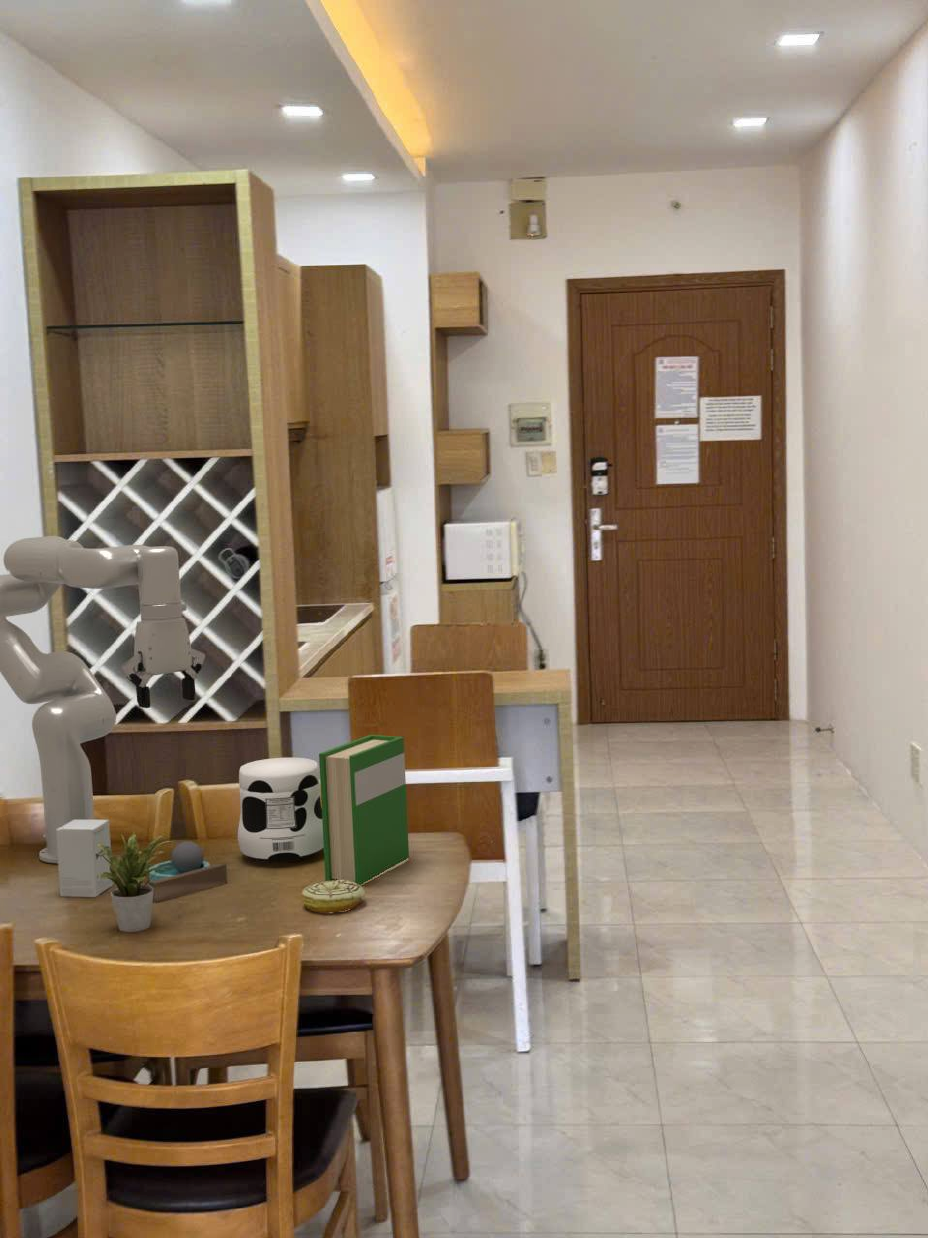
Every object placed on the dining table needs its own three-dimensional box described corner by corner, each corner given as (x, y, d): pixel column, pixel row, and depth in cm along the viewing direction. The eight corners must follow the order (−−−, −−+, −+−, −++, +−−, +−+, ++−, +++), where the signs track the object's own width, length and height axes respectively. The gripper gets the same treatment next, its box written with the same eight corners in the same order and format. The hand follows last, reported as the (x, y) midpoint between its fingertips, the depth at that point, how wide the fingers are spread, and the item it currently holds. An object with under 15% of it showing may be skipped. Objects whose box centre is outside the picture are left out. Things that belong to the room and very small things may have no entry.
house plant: (195, 930, 241) (189, 834, 239) (115, 948, 234) (108, 849, 232) (164, 909, 253) (157, 817, 251) (86, 925, 245) (79, 831, 244)
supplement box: (97, 898, 261) (92, 829, 259) (59, 897, 262) (54, 828, 261) (114, 885, 268) (110, 818, 267) (77, 884, 270) (73, 818, 268)
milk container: (290, 839, 295) (285, 752, 293) (346, 853, 283) (341, 763, 281) (220, 858, 283) (215, 768, 281) (276, 874, 271) (271, 780, 269)
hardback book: (360, 887, 261) (353, 756, 258) (325, 882, 265) (318, 753, 262) (409, 860, 277) (403, 737, 274) (376, 856, 280) (370, 734, 277)
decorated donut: (377, 904, 252) (376, 883, 251) (330, 920, 244) (329, 898, 244) (337, 893, 259) (336, 872, 258) (290, 908, 251) (289, 887, 251)
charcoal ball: (159, 862, 270) (174, 833, 272) (182, 875, 274) (197, 846, 276) (176, 869, 266) (192, 839, 268) (200, 882, 270) (215, 852, 271)
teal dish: (138, 881, 270) (137, 869, 270) (189, 867, 278) (188, 855, 277) (170, 892, 262) (169, 880, 262) (221, 878, 270) (220, 866, 270)
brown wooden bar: (151, 901, 258) (150, 882, 257) (222, 881, 268) (221, 863, 267) (156, 903, 257) (155, 883, 256) (227, 883, 267) (226, 864, 266)
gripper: (189, 607, 279) (195, 694, 281) (109, 616, 267) (115, 708, 269) (211, 609, 273) (217, 698, 275) (130, 619, 262) (137, 712, 264)
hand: (167, 703), depth 272 cm, fingers open, 9 cm apart
